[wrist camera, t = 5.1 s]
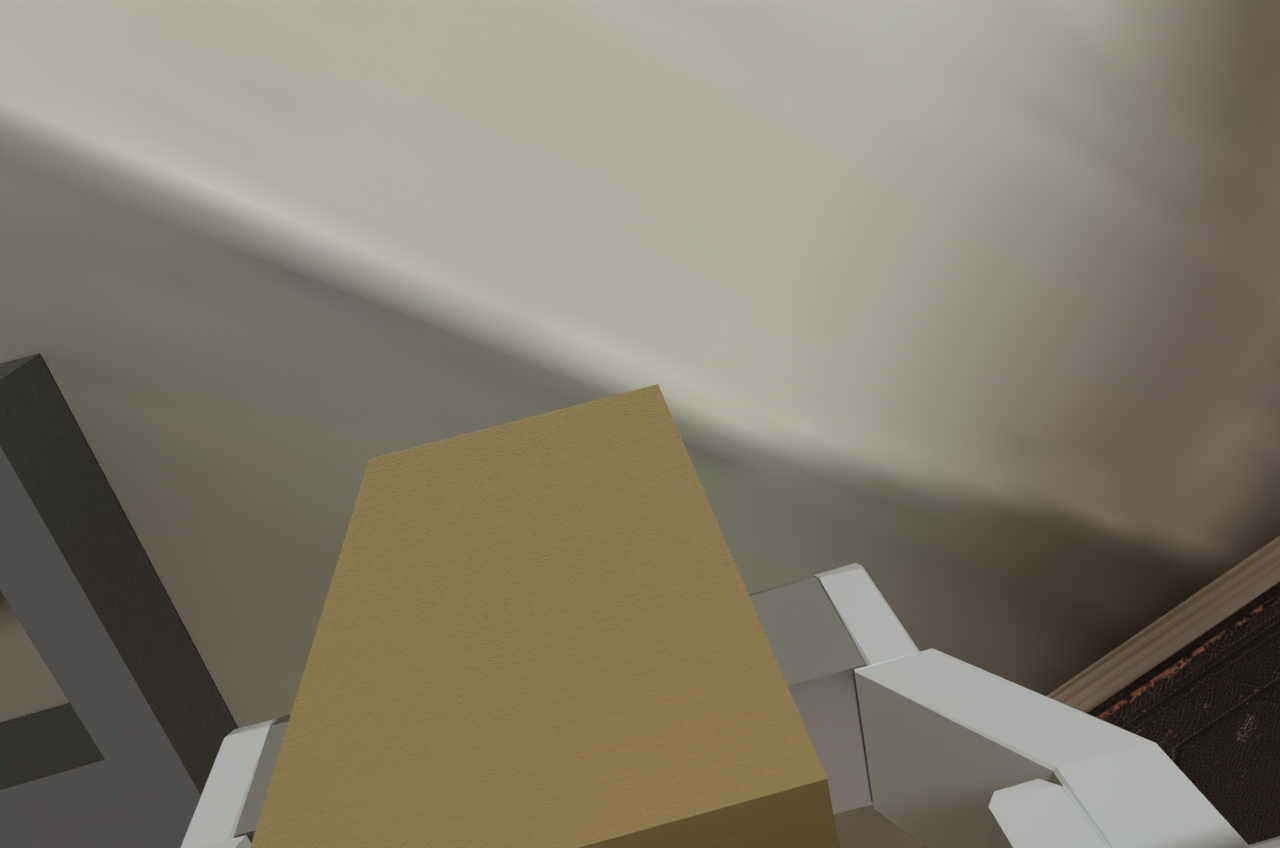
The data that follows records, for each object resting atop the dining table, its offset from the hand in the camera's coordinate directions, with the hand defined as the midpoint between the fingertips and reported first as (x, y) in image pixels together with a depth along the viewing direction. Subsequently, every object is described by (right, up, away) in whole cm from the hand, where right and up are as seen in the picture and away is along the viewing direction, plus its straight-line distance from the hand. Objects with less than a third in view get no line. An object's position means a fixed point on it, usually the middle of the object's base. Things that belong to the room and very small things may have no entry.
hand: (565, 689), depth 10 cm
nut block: (0, +1, +3) cm, 3 cm away
